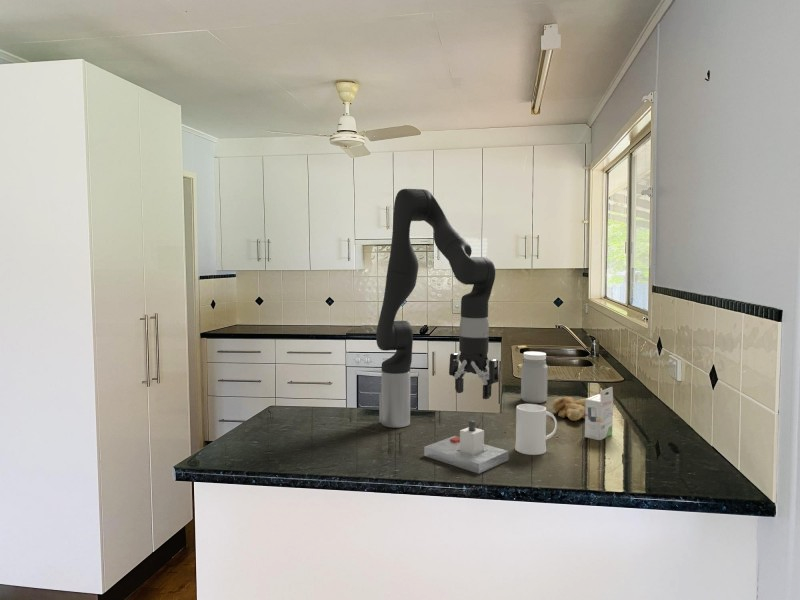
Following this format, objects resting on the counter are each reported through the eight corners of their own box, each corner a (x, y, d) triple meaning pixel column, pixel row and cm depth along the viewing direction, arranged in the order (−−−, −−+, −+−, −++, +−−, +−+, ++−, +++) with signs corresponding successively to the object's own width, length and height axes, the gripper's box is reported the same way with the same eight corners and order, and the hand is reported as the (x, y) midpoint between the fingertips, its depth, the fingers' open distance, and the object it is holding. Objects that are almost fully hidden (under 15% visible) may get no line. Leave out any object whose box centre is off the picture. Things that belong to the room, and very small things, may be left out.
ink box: (597, 431, 171) (598, 383, 170) (612, 434, 167) (614, 386, 166) (583, 437, 165) (584, 388, 164) (599, 441, 161) (601, 391, 160)
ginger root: (566, 403, 199) (570, 383, 196) (602, 424, 186) (608, 403, 184) (535, 411, 190) (539, 390, 188) (571, 434, 178) (576, 412, 175)
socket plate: (424, 455, 149) (424, 444, 149) (454, 444, 158) (454, 433, 158) (479, 473, 136) (479, 461, 136) (508, 460, 146) (508, 448, 145)
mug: (552, 444, 158) (553, 403, 158) (562, 454, 150) (563, 411, 149) (511, 444, 158) (512, 403, 157) (519, 455, 149) (519, 411, 149)
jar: (552, 401, 207) (553, 353, 206) (534, 405, 202) (535, 356, 200) (532, 396, 215) (533, 350, 214) (515, 399, 210) (515, 352, 208)
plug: (459, 460, 146) (460, 421, 145) (469, 455, 149) (470, 417, 148) (473, 464, 143) (473, 424, 142) (483, 459, 146) (484, 421, 145)
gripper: (443, 332, 146) (442, 393, 147) (488, 338, 136) (487, 403, 137) (461, 330, 151) (460, 388, 152) (505, 335, 141) (503, 398, 142)
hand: (472, 395), depth 145 cm, fingers open, 8 cm apart
